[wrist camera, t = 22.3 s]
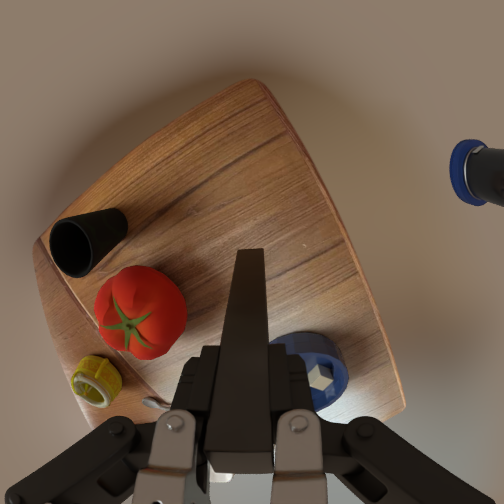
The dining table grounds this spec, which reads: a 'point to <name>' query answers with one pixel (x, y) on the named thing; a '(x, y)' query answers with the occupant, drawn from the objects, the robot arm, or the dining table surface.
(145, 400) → the spoon
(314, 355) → the bowl
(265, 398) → the stick
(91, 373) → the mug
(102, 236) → the cup
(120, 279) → the tomato
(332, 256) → the dining table surface
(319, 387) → the block
